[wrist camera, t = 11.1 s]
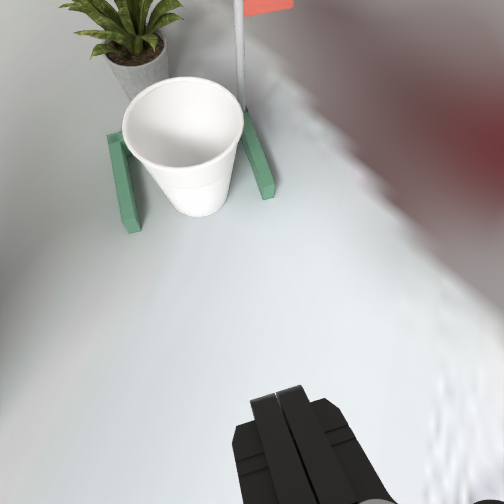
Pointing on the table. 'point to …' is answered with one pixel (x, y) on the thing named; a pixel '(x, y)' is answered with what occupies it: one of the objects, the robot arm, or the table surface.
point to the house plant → (131, 39)
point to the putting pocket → (245, 4)
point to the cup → (186, 140)
